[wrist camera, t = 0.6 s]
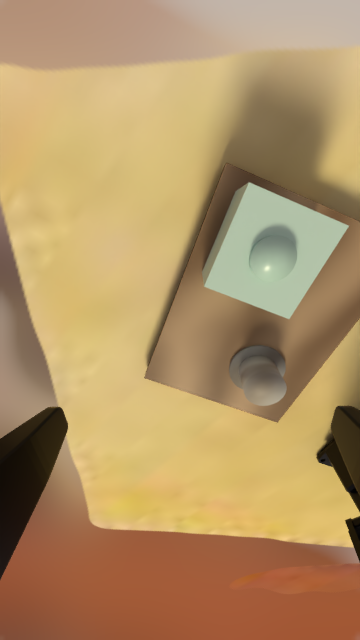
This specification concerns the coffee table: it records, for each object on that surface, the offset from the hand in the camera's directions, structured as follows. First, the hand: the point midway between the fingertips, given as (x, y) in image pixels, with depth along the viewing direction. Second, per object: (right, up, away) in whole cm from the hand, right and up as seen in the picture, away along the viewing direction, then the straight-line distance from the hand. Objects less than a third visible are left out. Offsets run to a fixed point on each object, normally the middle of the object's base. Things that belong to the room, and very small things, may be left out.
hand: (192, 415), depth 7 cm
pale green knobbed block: (+5, +8, +8) cm, 13 cm away
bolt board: (+6, +3, +12) cm, 14 cm away
